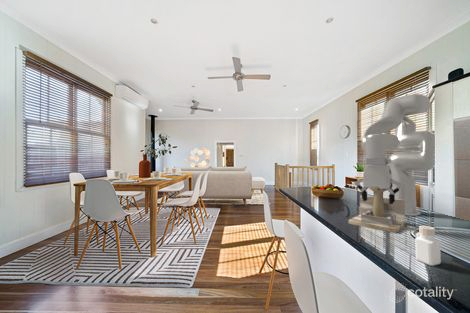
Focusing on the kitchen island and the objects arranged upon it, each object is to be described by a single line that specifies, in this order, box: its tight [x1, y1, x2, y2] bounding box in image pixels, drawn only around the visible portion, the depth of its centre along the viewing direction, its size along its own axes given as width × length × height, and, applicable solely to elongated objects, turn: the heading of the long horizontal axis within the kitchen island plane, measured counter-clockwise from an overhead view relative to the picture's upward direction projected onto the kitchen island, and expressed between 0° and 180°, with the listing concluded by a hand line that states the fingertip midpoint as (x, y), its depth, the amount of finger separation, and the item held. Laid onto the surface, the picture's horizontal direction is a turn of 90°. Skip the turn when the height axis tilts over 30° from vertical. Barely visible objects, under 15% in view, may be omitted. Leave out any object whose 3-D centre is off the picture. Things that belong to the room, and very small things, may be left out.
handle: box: [369, 187, 388, 218], centre depth 90 cm, size 5×6×15 cm
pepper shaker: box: [414, 225, 442, 267], centre depth 57 cm, size 4×4×10 cm
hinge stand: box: [347, 195, 406, 234], centre depth 91 cm, size 16×17×10 cm
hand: (377, 202), depth 90 cm, fingers open, 9 cm apart
